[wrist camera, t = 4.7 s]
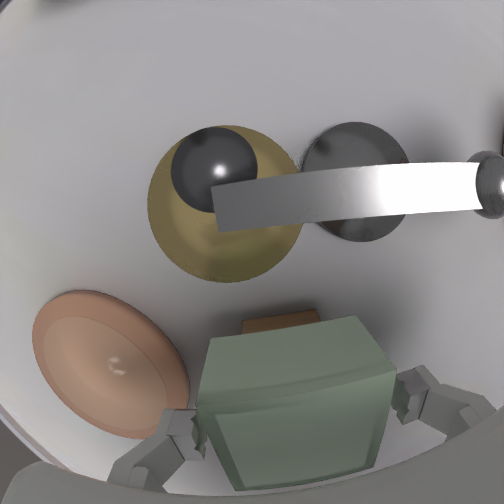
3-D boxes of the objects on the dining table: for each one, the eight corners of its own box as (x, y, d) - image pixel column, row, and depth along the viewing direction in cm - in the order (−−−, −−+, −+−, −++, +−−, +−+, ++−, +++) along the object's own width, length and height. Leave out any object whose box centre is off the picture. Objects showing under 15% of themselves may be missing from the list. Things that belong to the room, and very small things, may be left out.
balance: (471, 221, 14) (606, 264, 3) (202, 263, 14) (107, 437, 3) (461, 129, 12) (600, 115, 2) (181, 146, 13) (16, 60, 2)
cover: (350, 411, 12) (373, 467, 8) (237, 430, 13) (235, 491, 9) (355, 314, 11) (396, 369, 7) (210, 338, 11) (195, 404, 7)
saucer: (209, 430, 17) (207, 442, 16) (81, 420, 17) (76, 429, 16) (159, 279, 14) (151, 287, 13) (21, 296, 14) (10, 303, 13)
